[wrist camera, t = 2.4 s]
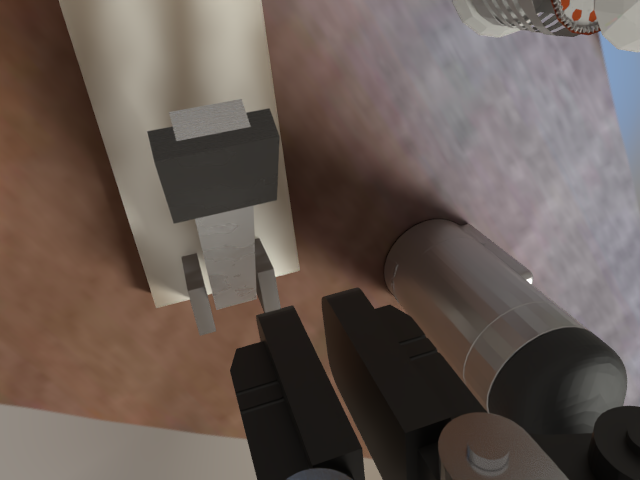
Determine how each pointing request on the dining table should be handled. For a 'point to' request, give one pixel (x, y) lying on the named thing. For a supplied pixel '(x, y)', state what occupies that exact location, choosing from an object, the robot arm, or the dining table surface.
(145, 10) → the press base
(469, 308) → the robot arm
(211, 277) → the lever
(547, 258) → the dining table surface
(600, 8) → the french press
